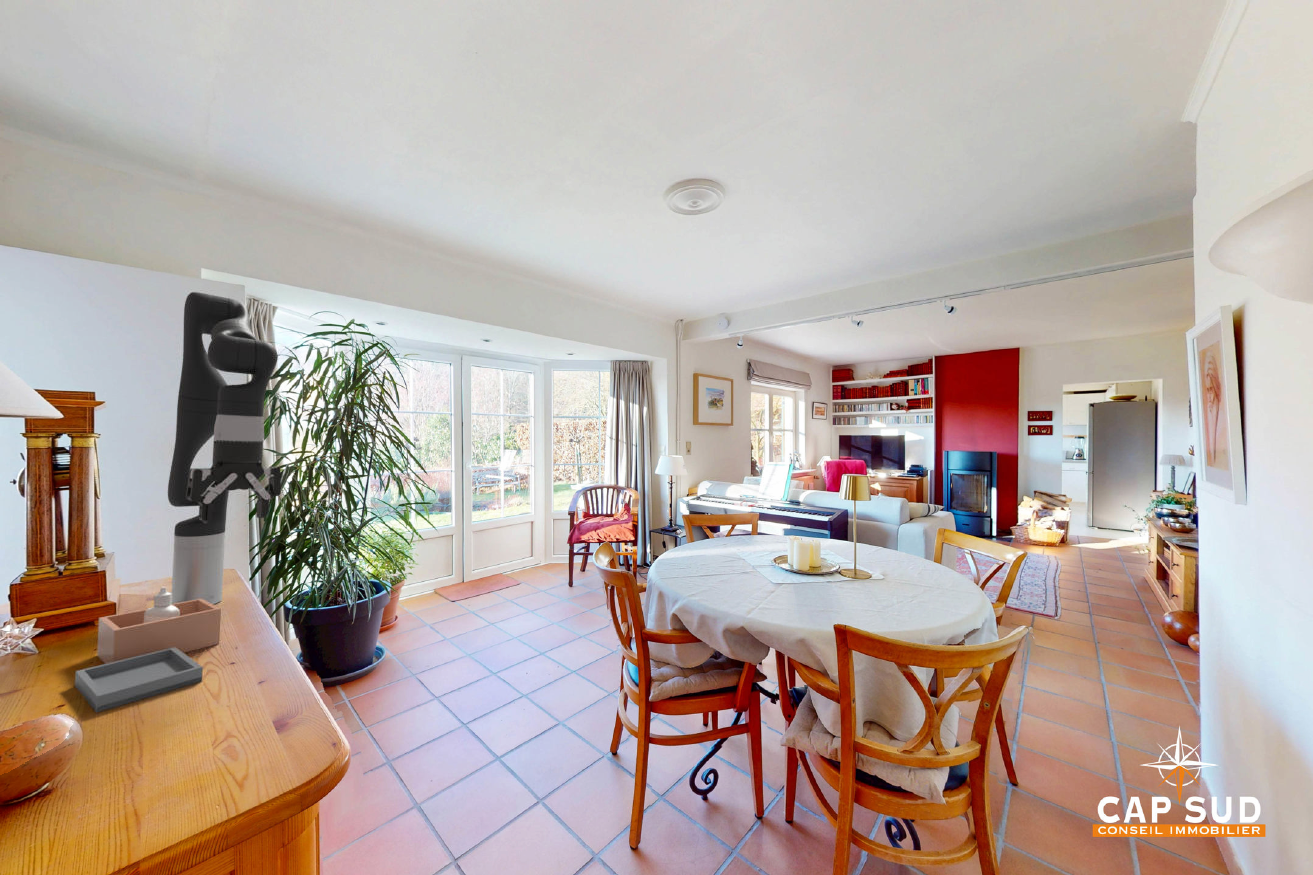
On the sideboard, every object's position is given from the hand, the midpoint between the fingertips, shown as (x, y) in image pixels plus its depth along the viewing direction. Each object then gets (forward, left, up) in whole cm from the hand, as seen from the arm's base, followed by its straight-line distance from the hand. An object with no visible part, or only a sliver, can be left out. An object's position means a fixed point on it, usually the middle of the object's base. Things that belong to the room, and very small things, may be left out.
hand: (234, 520), depth 97 cm
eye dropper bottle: (-9, -8, -25) cm, 28 cm away
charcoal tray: (+6, -14, -25) cm, 29 cm away
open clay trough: (-9, -8, -25) cm, 28 cm away
